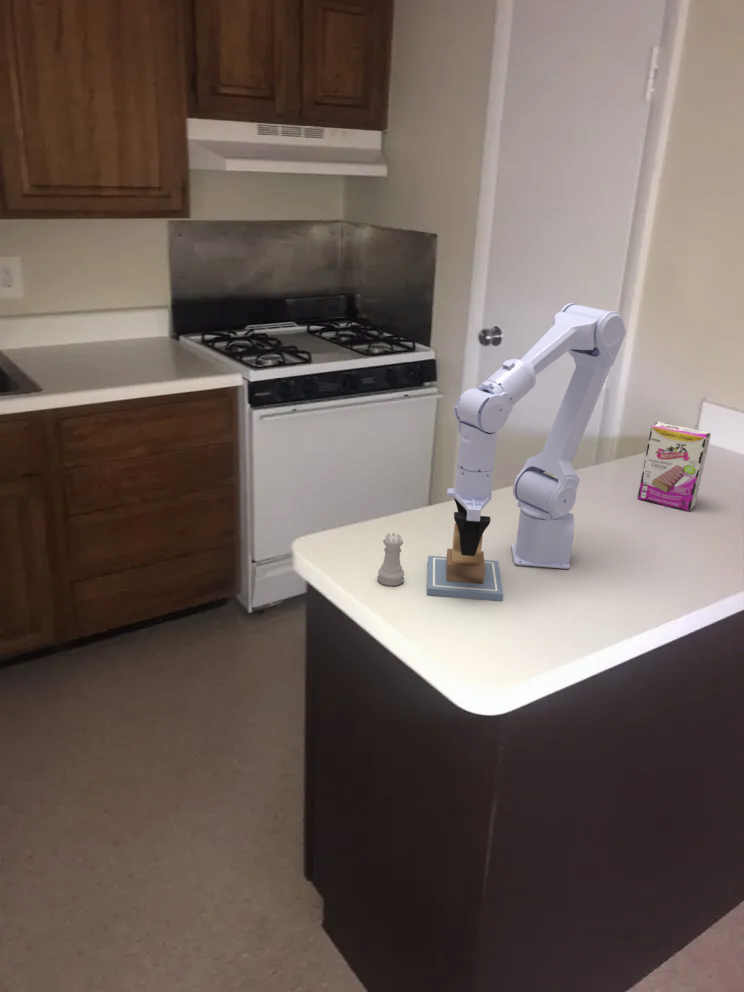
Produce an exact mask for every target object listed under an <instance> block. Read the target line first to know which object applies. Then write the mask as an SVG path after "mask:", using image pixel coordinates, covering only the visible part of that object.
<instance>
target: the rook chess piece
mask: <svg viewBox="0 0 744 992" xmlns="http://www.w3.org/2000/svg"><path fill="white" fill-rule="evenodd" d="M382 540H383V541H382V542H383V544H384V545H385V548H384V549H383V551H384V559H383V562H382V564H381V565H380V568H379V569H378V571H377V572H378V573H377V574H378V575H377V580H378V582H379V583H381V584H382V585H384V586H387V587H395V586H396V587H397V586H399V585H401V584H402V583H403V582H404V581H405V577H404V576H405V572H404V569H403V567H402V564H401V558H400V557H401V552H402V549H401V546H403V544H404V541H403V539H402V536H401V535H400V534H398V533H397V534H396V533H394V532H392V533H387V534H386V535H385V538H384V539H382Z"/></svg>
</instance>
